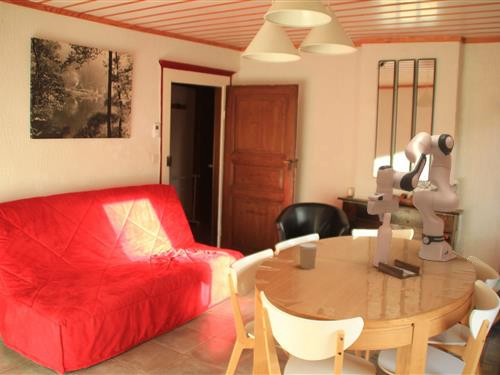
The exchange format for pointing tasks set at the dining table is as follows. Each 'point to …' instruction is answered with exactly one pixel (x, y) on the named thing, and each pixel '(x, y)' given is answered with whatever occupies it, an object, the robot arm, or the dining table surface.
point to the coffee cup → (307, 255)
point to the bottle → (383, 241)
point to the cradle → (399, 269)
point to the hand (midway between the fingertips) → (382, 221)
